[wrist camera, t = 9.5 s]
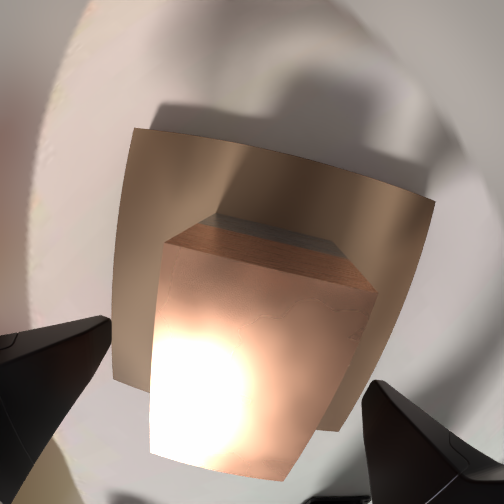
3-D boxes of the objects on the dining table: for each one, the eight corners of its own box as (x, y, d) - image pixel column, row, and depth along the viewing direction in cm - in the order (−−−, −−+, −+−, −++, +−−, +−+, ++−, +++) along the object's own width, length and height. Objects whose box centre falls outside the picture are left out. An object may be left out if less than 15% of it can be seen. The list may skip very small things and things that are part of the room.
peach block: (282, 387, 14) (283, 481, 8) (188, 366, 14) (150, 452, 8) (331, 240, 12) (378, 293, 6) (215, 212, 12) (164, 242, 6)
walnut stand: (421, 198, 13) (435, 201, 11) (335, 415, 16) (338, 431, 15) (147, 132, 13) (134, 127, 11) (123, 365, 16) (113, 379, 15)
